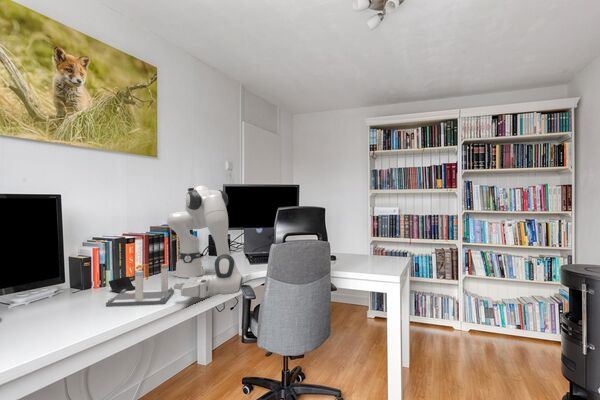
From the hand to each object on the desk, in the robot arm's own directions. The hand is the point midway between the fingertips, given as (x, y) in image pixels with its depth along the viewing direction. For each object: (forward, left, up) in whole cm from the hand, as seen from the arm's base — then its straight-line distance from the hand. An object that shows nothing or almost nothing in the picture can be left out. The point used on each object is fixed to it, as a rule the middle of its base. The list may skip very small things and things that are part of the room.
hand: (174, 286), depth 144 cm
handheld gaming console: (-24, -30, -8) cm, 39 cm away
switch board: (-7, -16, -7) cm, 19 cm away
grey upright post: (-14, -8, -5) cm, 17 cm away
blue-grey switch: (0, -15, -6) cm, 16 cm away
